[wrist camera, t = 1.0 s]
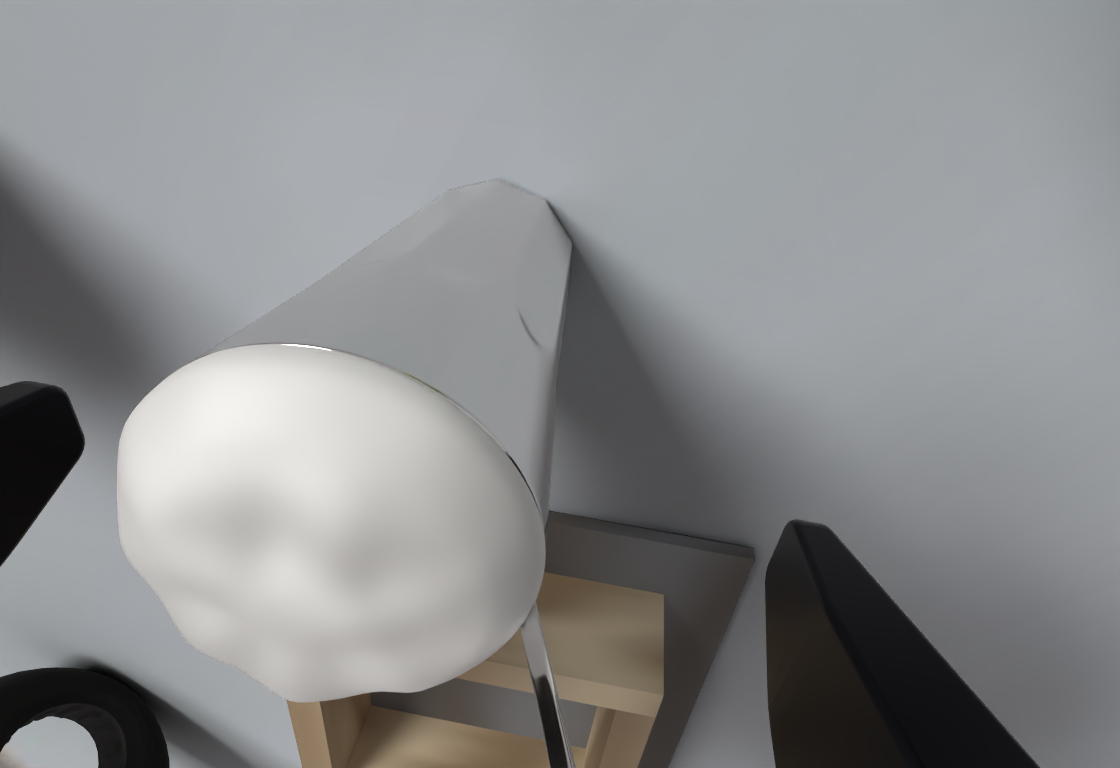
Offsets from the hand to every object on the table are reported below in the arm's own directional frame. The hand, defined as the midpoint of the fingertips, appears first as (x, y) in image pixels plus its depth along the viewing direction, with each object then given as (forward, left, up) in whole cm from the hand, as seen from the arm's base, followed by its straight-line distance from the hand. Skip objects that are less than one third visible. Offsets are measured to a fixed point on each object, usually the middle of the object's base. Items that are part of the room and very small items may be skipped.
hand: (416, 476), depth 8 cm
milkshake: (0, 0, -7) cm, 7 cm away
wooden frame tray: (0, +14, -7) cm, 16 cm away
